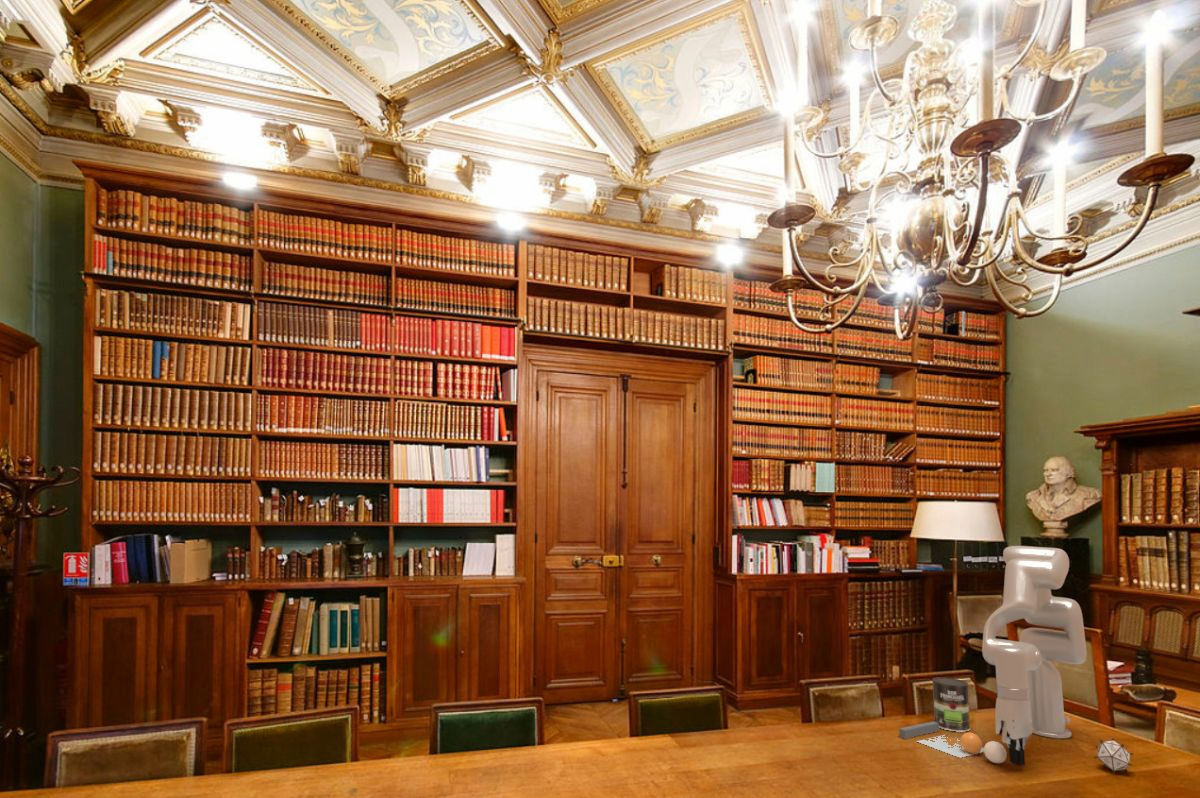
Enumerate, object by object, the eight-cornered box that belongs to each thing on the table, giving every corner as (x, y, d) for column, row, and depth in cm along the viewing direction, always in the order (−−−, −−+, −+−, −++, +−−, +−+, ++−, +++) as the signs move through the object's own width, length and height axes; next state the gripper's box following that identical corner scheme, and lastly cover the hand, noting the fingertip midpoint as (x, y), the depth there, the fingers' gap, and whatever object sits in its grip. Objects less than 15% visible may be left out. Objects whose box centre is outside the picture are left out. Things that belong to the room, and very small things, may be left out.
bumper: (933, 729, 212) (932, 721, 212) (939, 731, 210) (938, 723, 211) (899, 737, 205) (899, 728, 205) (905, 739, 203) (904, 730, 203)
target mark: (945, 735, 207) (945, 734, 207) (990, 750, 195) (990, 749, 195) (916, 742, 201) (916, 741, 201) (959, 758, 188) (959, 757, 188)
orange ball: (977, 755, 194) (964, 736, 198) (990, 746, 191) (977, 727, 195) (965, 758, 191) (952, 739, 195) (978, 749, 188) (965, 730, 192)
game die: (1125, 788, 180) (1146, 765, 175) (1091, 773, 182) (1111, 749, 177) (1115, 760, 187) (1135, 738, 183) (1082, 746, 190) (1101, 723, 185)
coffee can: (972, 734, 208) (970, 687, 210) (936, 729, 212) (933, 683, 214) (968, 724, 218) (965, 679, 220) (933, 720, 221) (930, 675, 223)
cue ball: (1013, 748, 185) (1006, 765, 186) (993, 735, 189) (987, 751, 190) (1003, 752, 182) (997, 770, 183) (983, 739, 186) (977, 756, 187)
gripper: (1015, 686, 191) (1019, 754, 188) (982, 692, 184) (987, 763, 181) (1042, 693, 184) (1047, 764, 182) (1010, 700, 177) (1015, 773, 175)
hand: (1017, 763), depth 181 cm, fingers closed
